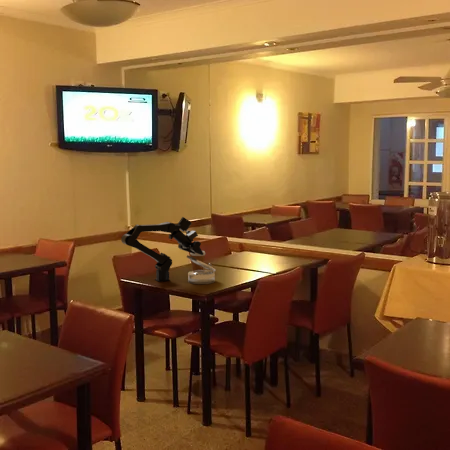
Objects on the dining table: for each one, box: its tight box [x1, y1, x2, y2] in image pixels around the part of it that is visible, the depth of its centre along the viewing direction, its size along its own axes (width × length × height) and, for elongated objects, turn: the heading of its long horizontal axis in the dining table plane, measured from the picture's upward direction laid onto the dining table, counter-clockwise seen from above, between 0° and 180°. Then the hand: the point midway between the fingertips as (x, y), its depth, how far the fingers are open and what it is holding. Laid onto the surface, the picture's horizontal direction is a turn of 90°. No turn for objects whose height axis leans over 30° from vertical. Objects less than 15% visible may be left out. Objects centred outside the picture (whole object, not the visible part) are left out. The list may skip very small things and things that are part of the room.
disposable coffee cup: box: [189, 250, 206, 271], centre depth 359 cm, size 10×10×12 cm
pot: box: [187, 269, 216, 285], centre depth 329 cm, size 15×15×5 cm
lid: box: [186, 255, 216, 273], centre depth 328 cm, size 18×15×3 cm
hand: (199, 253), depth 341 cm, fingers open, 9 cm apart
